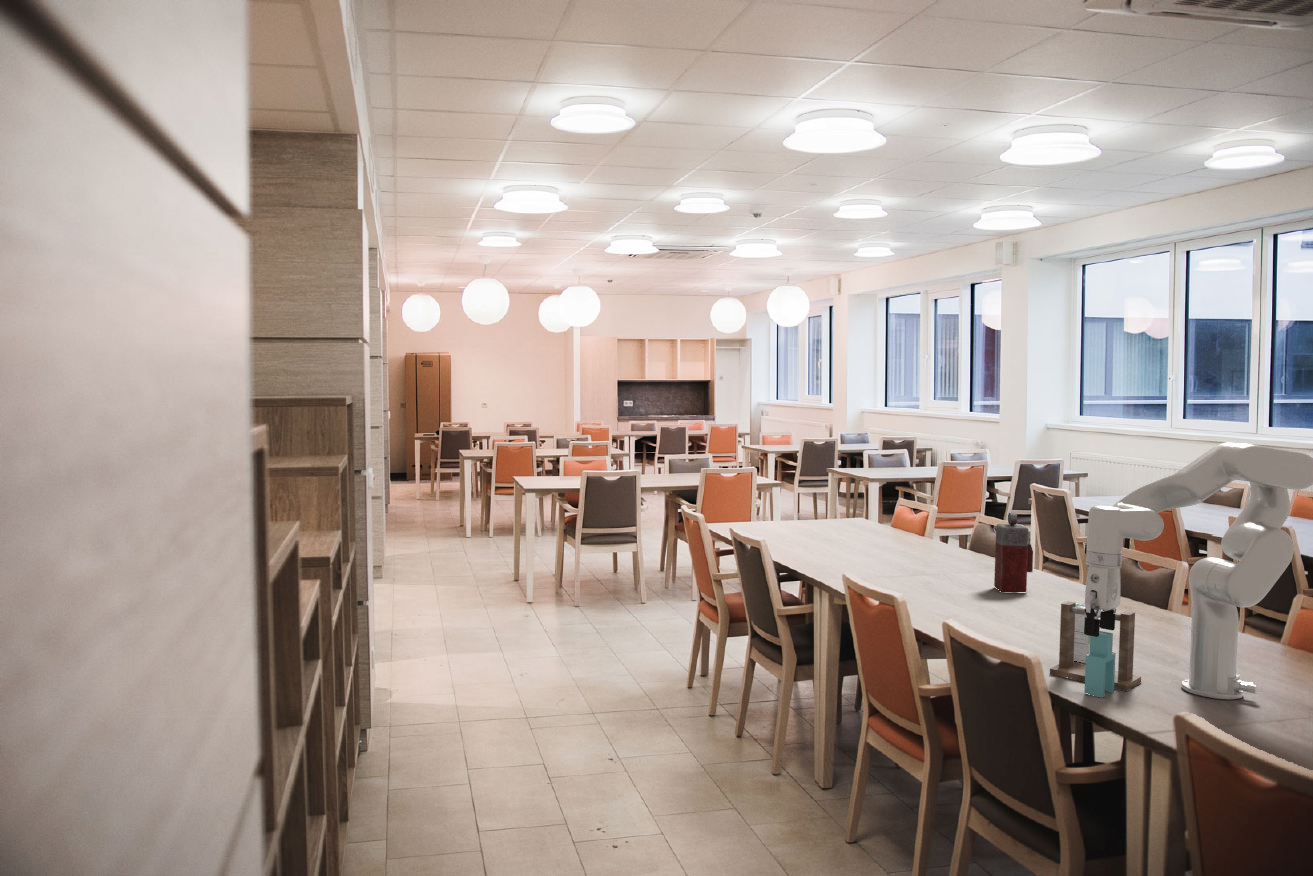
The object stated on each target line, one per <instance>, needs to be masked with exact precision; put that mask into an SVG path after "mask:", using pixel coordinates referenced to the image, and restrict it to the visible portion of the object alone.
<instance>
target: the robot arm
mask: <svg viewBox="0 0 1313 876" xmlns="http://www.w3.org/2000/svg"><path fill="white" fill-rule="evenodd" d="M1234 481H1243V482H1249V484H1250V485H1249V486H1250V496H1249V500H1248V501H1247V503H1246V504H1245V506H1244V508H1243V509H1242V510H1241V511H1240V513H1239V514H1238V516H1237V517H1236V518H1235V520H1234V521H1233V522H1232V523H1231V525H1230V526H1229V527H1228V529H1227V530H1226V531H1225V533H1224V535H1223V536H1222V538H1221V541H1220V547H1221V550H1222V552H1223V553H1224V554H1225V555H1226V556H1227V557H1228V558H1231V559H1232V560H1235V561H1238V562H1235V561H1231V560H1227V559H1223V558H1220V557H1210V556H1209V557H1204V558H1201V559H1199V560H1197V561H1196V562H1195V563H1193V565H1192V566H1191V568H1190V570H1189V573H1188V584H1189V585H1188V586H1189V593H1190V598H1191V627H1190V647H1189V648H1190V650H1189V651H1190V652H1189V672H1188V679H1184V680H1182V681H1181V685H1180V687H1181V688H1182V689H1183V690H1184V691H1185V692H1188V693H1190V694H1192V695H1197V696H1199V697H1205V698H1210V699H1217V700H1238V699H1241V698H1243V697H1244V692H1246V693H1248V694H1254V695H1256V694H1257V692H1258V685H1256V684H1254V683H1253V682H1247V681H1243V679H1242V680H1241V675H1240V674H1237V666H1238V665H1237V664H1238V645H1239V629H1240V628H1239V627H1240V626H1239V621H1240V620H1239V619H1240V618H1239V613H1238V608H1250V607H1253V606H1255V605H1257V604H1258V603H1260V602H1261V601H1262V600H1263V599H1264V598H1265V597H1266V596H1267V594H1268V593H1269V592H1270V591H1271V590H1272V588H1273V587H1274V586H1275V584H1276V583H1277V581H1278V580H1279V579H1280V577H1281V576H1282V575H1283V573H1284V572H1285V571H1286V569H1287V568H1288V566H1289V565H1290V563H1291V562H1292V559H1293V556H1294V553H1295V552H1294V551H1295V546H1294V541H1293V538H1292V537H1291V536H1290V534H1289V533H1288V532H1286V531H1285V530H1283V529H1281V528H1282V527H1283V526H1284V524H1285V522H1286V521H1287V519H1288V517H1289V515H1290V511H1291V501H1290V500H1291V499H1290V495H1289V491H1288V490H1292V491H1293V490H1295V491H1300V490H1305V489H1308V488H1310V487H1312V485H1313V457H1312V456H1311V455H1308V454H1306V453H1304V452H1299V451H1298V452H1297V451H1292V450H1291V451H1290V450H1285V449H1279V448H1273V447H1268V446H1262V445H1257V444H1249V443H1238V442H1237V443H1236V442H1223V443H1220V444H1217V445H1215V446H1213V447H1212V448H1210V449H1209V450H1208V451H1206V452H1204V453H1203V454H1201V455H1200V456H1199V457H1197V458H1196V459H1194V460H1193V461H1191V462H1190V463H1189V464H1187V465H1186V466H1184V467H1183V468H1181V469H1180V470H1178V471H1177V472H1174V473H1173V474H1171V475H1169V476H1165V477H1162V478H1161V479H1158V480H1156V481H1153V482H1151V483H1147V484H1146V485H1143V486H1141V487H1139V488H1137V489H1135V490H1133V491H1132V492H1130V493H1128V494H1127V495H1126V496H1124V497H1122V498H1121V499H1120V500H1118V501H1117V502H1115V504H1113V505H1112V506H1109V505H1094V506H1092V507H1090V508H1089V511H1088V515H1087V516H1088V520H1087V534H1086V535H1087V536H1086V537H1087V539H1086V553H1085V565H1087V566H1088V567H1087V572H1086V579H1085V580H1086V581H1085V590H1084V591H1085V592H1084V604H1085V609H1084V610H1085V615H1084V616H1085V624H1084V634H1085V635H1089V636H1094V637H1098V636H1099V631H1101V630H1100V629H1103V630H1108V631H1115V629H1116V620H1115V615H1116V614H1117V608H1118V607H1120V605H1121V589H1122V588H1121V568H1122V562H1123V547H1124V543H1123V542H1124V539H1130V540H1131V539H1132V540H1135V541H1136V540H1138V541H1142V542H1143V541H1147V542H1148V541H1152V540H1155V539H1157V538H1158V537H1159V536H1161V534H1162V533H1163V531H1164V528H1165V524H1164V519H1163V517H1162V516H1161V515H1160V514H1159V513H1161V512H1164V511H1168V510H1173V509H1180V508H1187V507H1190V506H1191V507H1192V506H1194V505H1198V504H1201V503H1203V502H1204V501H1205V500H1207V499H1208V498H1210V497H1212V496H1213V495H1214V494H1216V493H1217V492H1219V491H1220V490H1221V489H1224V487H1226V486H1227V485H1229V484H1230V483H1232V482H1234ZM1237 607H1238V608H1237ZM1094 610H1096V613H1095V611H1094ZM1100 612H1101V614H1100ZM1099 615H1100V618H1099Z"/></svg>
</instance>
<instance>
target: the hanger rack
mask: <svg viewBox="0 0 1313 876" xmlns="http://www.w3.org/2000/svg"><path fill="white" fill-rule="evenodd" d="M1076 603H1077V602H1073V601H1064V602H1062V603H1061V604H1060V624H1059V625H1060V626H1059V627H1060V629H1059V654H1058V657H1059V658H1058V664H1057V665H1054V666H1052V667H1050V668H1049V675H1050V674H1052V675H1051V676H1054V675H1056V676H1055V677H1059V676H1060V678H1063V677H1068V678H1072V679H1071V680H1073V679H1075V680H1074V681H1077V680H1079V681H1078V682H1082V681H1085V665H1086V664H1084V663H1079V662H1074V634H1075V613H1076V614H1082V615H1085V610H1084V609H1083V608H1077V607H1076ZM1094 611H1095V610H1094ZM1095 613H1096V611H1095ZM1100 614H1101V612H1100ZM1115 614H1116V615H1115V621H1117V622H1119V640H1118V641H1119V642H1118V667H1117V668H1118V670H1117V671H1116V670H1115V679H1114V690H1118V689H1120V690H1119V691H1122V690H1124V691H1123V692H1128V691H1129V689H1130V690H1131V689H1133V688H1134V686H1135V685H1136V686H1138V685H1140V684H1141V683H1142V676H1140V675H1135V674H1133V673H1134V653H1135V652H1134V649H1135V648H1134V647H1135V627H1136V625H1135V623H1136V612H1134V611H1129V610H1126V611H1122V612H1121V613H1120V614H1118V613H1115ZM1098 619H1100V615H1099V618H1098ZM1068 678H1067V679H1068ZM1140 682H1141V683H1140ZM1139 683H1140V684H1139ZM1136 686H1135V687H1136ZM1132 687H1133V688H1132ZM1127 690H1128V691H1127Z"/></svg>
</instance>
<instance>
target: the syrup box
mask: <svg viewBox="0 0 1313 876" xmlns="http://www.w3.org/2000/svg"><path fill="white" fill-rule="evenodd" d="M1075 603H1076V607H1077V608H1083V609H1085V603H1081V602H1075ZM1095 611H1096V610H1095ZM1084 624H1085V616H1084V615H1082V614H1076V613H1075V634H1074V661H1077V662H1076V663H1079V662H1081V663H1080V664H1085V663H1086V655H1087V654H1089V653H1090V636H1089V635H1085V634H1084ZM1074 661H1073V662H1074Z"/></svg>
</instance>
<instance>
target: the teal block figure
mask: <svg viewBox="0 0 1313 876" xmlns="http://www.w3.org/2000/svg"><path fill="white" fill-rule="evenodd" d="M1113 642H1114V634H1113V632H1108V631H1101V630H1099V636H1098V637H1094V636H1090V653H1089V654H1087V655H1086V664H1084V665H1085V682H1084V693H1088V694H1090V695H1094V696H1098V697H1104V698H1105V692H1107V691H1108V693H1114V692H1115V689H1114V679H1115V671H1116V652H1113V646H1114V645H1113V644H1114V643H1113ZM1105 690H1106V691H1105ZM1090 695H1089V696H1090ZM1094 696H1093V697H1094ZM1098 697H1097V698H1098Z"/></svg>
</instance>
